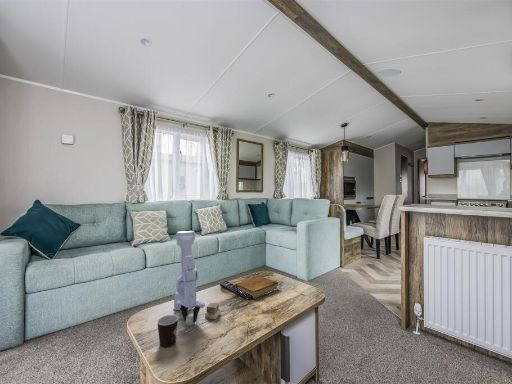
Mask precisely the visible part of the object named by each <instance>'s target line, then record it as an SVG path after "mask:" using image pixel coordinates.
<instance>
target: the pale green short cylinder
mask: <svg viewBox="0 0 512 384" xmlns="http://www.w3.org/2000/svg"><path fill="white" fill-rule="evenodd" d="M195 325H196V322H193V313H188V315H186V322H185V326H186V327H193V326H195Z"/></svg>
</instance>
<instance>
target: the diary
mask: <svg viewBox="0 0 512 384" xmlns="http://www.w3.org/2000/svg"><path fill="white" fill-rule="evenodd" d="M278 284H279V281H276V280H273V279H271V278H267V277H264V276H261V275H259V276H256V277H253V278H249V279H246V280H243V281H241V282H238V283H235V284H234V289H235V288H238V289H240V290H242V291H244V292H246V293H248V294H250V295H252V296H253V299H254V300H256V299H255V298H257V299H259V298H261V297H263V296H262V295H263V294H265V293H268V292H270V291H272V290H274V289H276V288H277V289H278ZM260 296H261V297H260ZM258 297H259V298H258ZM253 299H252V300H253Z"/></svg>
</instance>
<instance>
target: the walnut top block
mask: <svg viewBox="0 0 512 384" xmlns="http://www.w3.org/2000/svg"><path fill="white" fill-rule="evenodd" d="M218 309H220V305H219V303H218V302H217V303H216V302H209V303H208V305H206V311H207V313H216V312H217V311H218Z"/></svg>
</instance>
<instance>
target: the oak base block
mask: <svg viewBox="0 0 512 384" xmlns="http://www.w3.org/2000/svg"><path fill="white" fill-rule="evenodd" d="M220 314H221V310H220V308H219V309H218V311H217V312H216V313H207V310H206V311H205V312H204V318H205V319H211V320H212V319H213V320H216V319H217V318H218V316H219V315H220Z"/></svg>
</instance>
